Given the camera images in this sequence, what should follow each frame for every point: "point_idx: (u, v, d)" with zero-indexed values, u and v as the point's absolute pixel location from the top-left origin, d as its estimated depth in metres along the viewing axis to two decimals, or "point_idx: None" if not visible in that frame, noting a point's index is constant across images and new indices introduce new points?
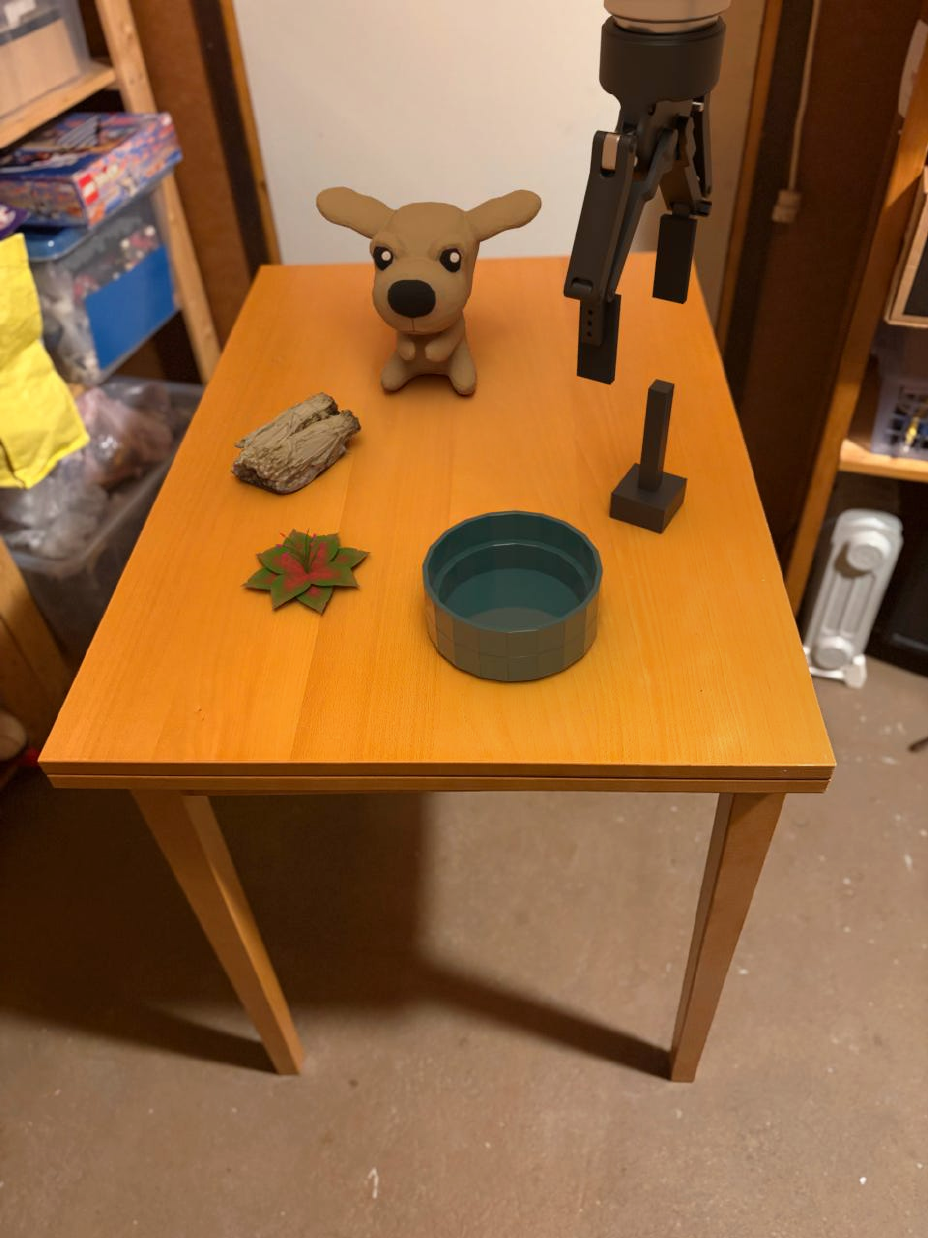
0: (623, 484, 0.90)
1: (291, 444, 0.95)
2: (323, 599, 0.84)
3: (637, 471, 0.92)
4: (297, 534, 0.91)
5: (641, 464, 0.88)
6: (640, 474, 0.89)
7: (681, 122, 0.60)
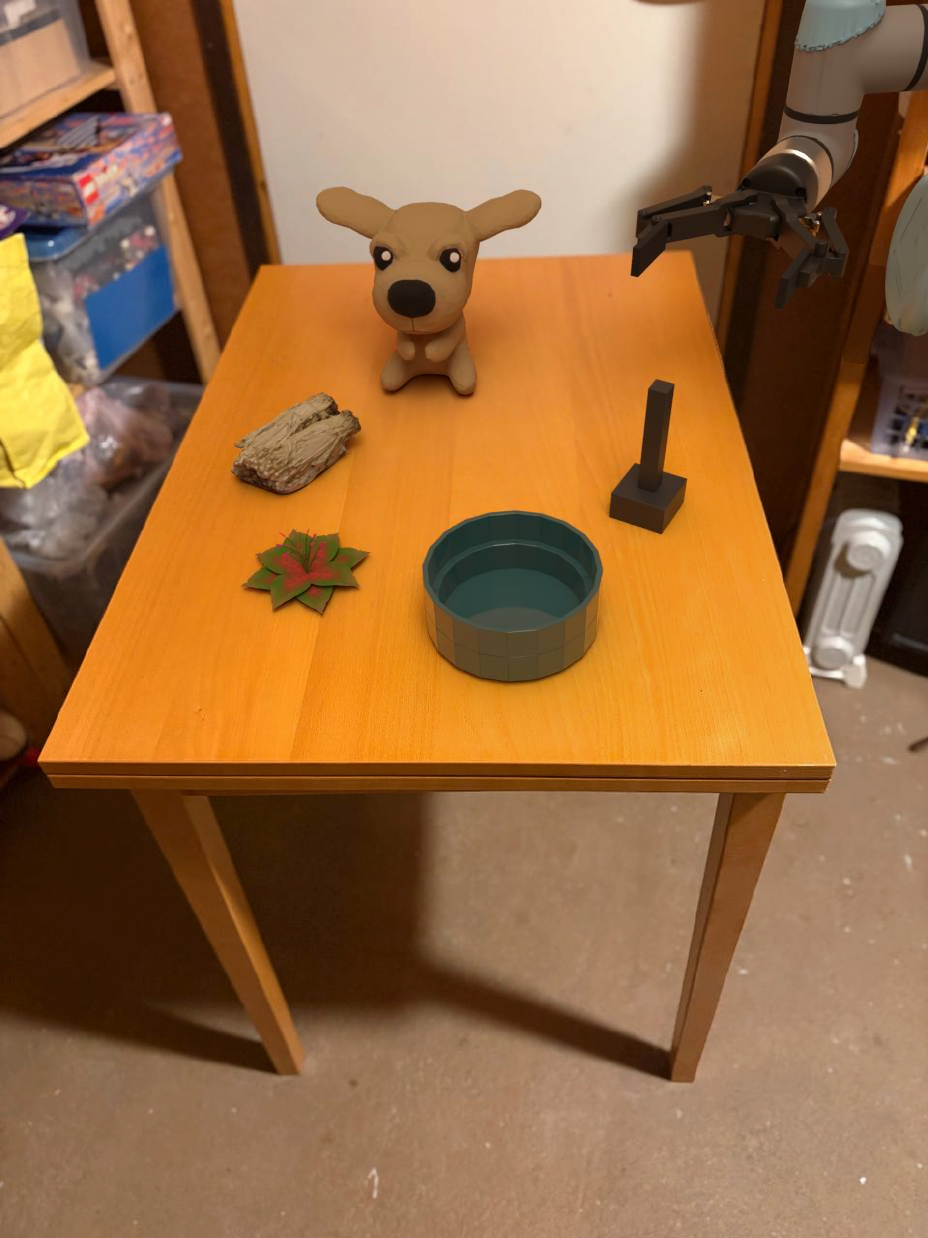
0: (623, 484, 0.90)
1: (291, 444, 0.95)
2: (323, 599, 0.84)
3: (637, 471, 0.92)
4: (297, 534, 0.91)
5: (641, 464, 0.88)
6: (640, 474, 0.89)
7: None
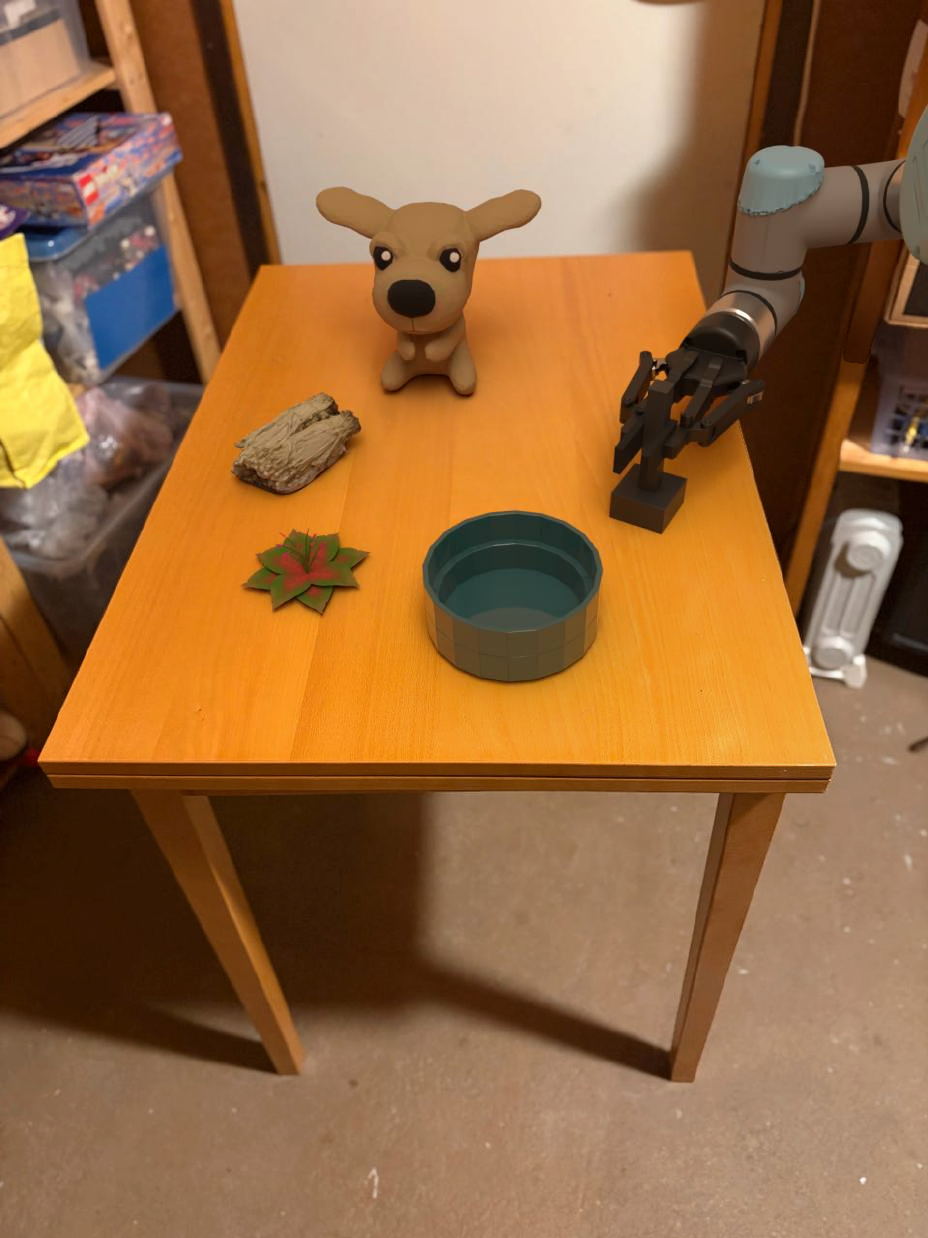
0: (623, 484, 0.90)
1: (291, 444, 0.95)
2: (323, 599, 0.84)
3: (637, 471, 0.92)
4: (297, 534, 0.91)
5: None
6: None
7: None
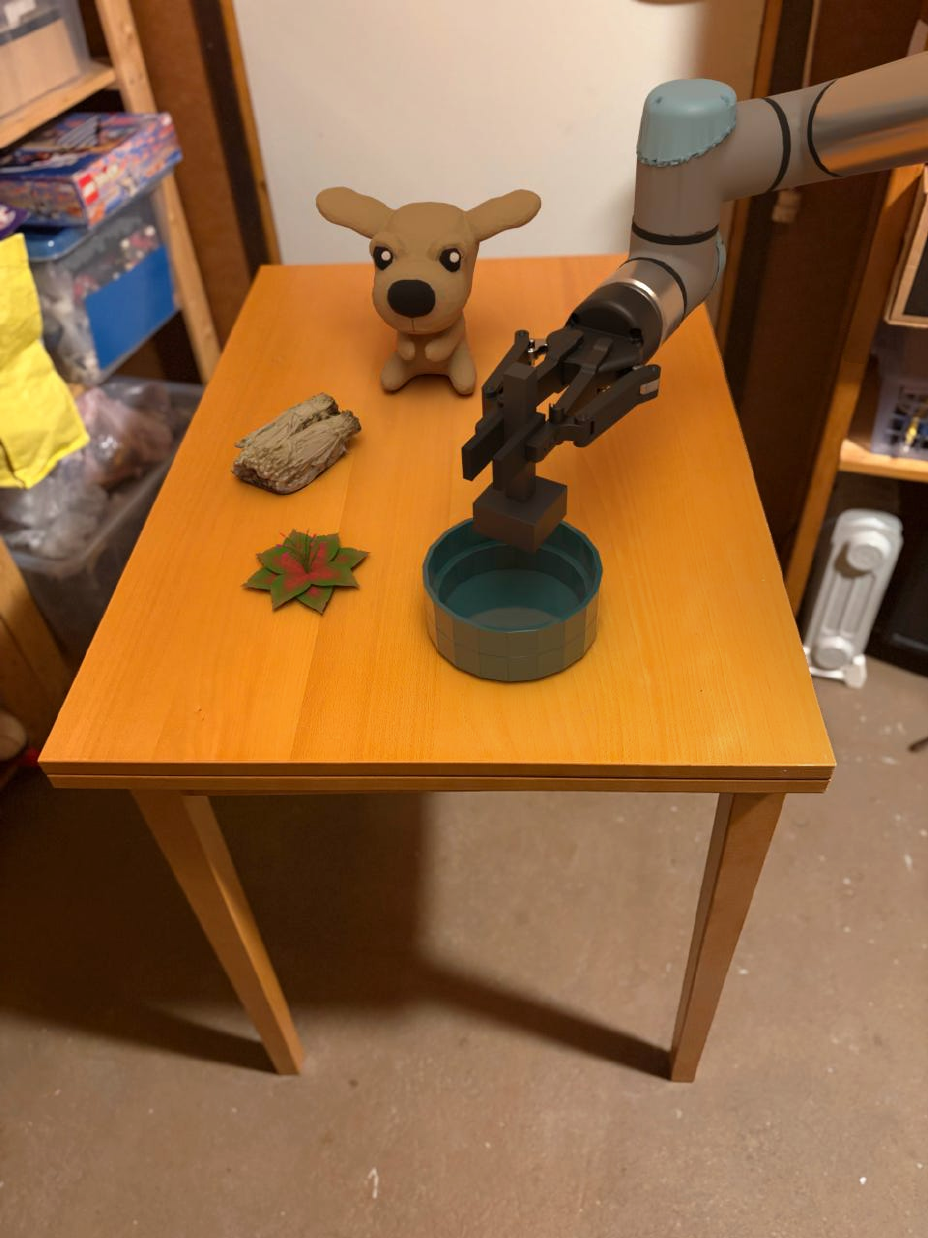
0: (488, 492, 0.74)
1: (291, 444, 0.95)
2: (323, 599, 0.84)
3: None
4: (297, 534, 0.91)
5: None
6: None
7: None
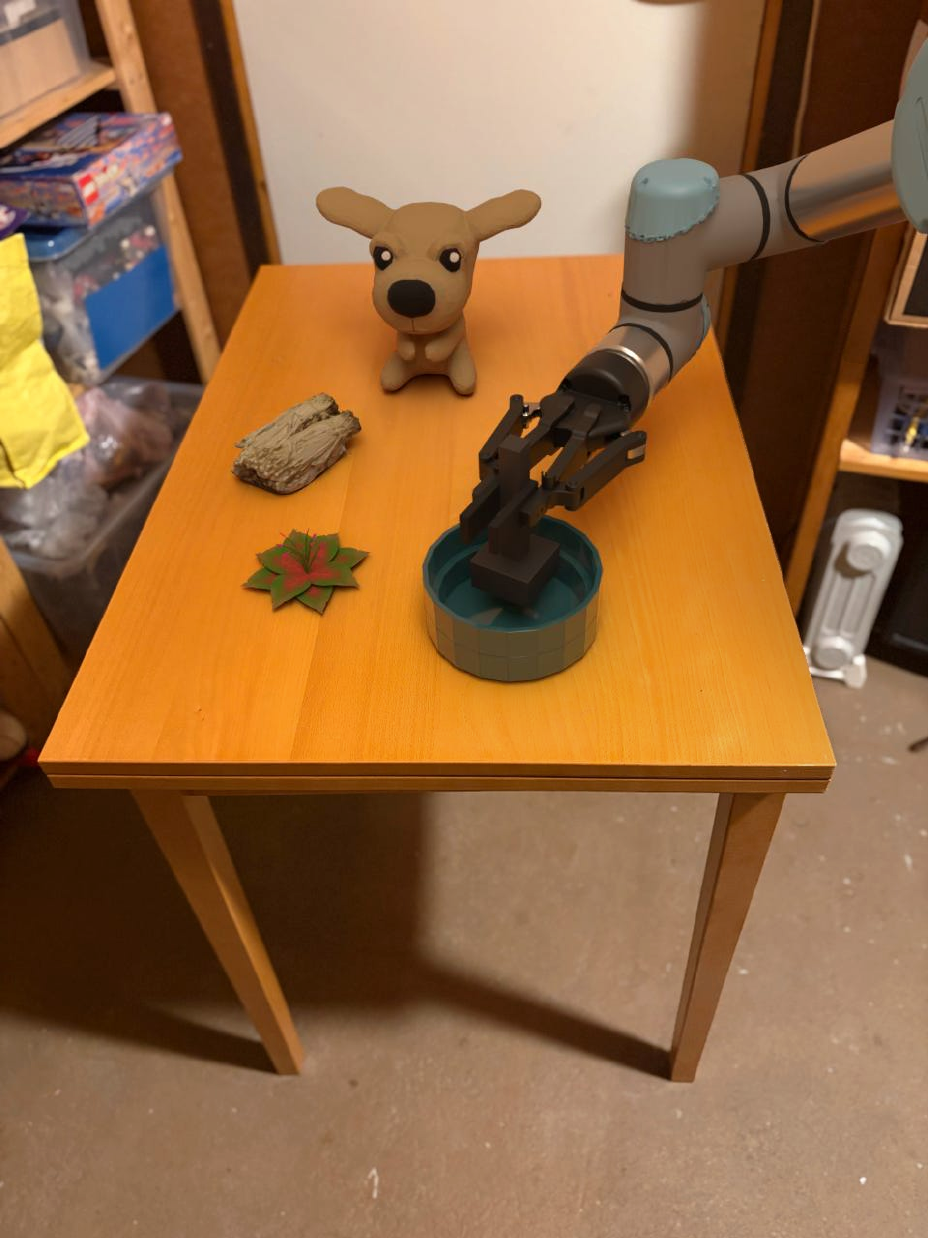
0: (485, 550, 0.78)
1: (291, 444, 0.95)
2: (323, 599, 0.84)
3: None
4: (297, 534, 0.91)
5: None
6: None
7: None
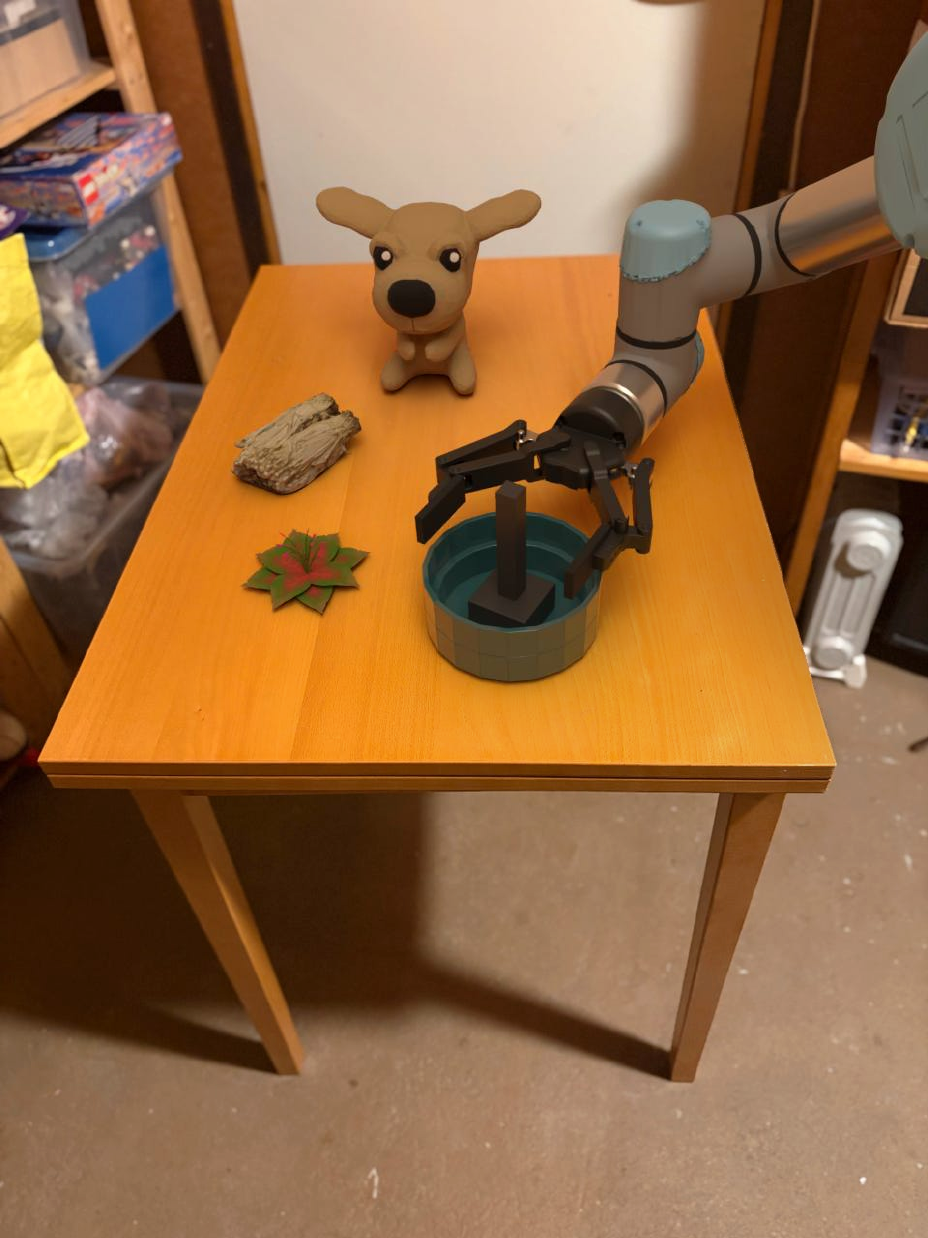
0: (482, 589, 0.80)
1: (291, 444, 0.95)
2: (323, 599, 0.84)
3: None
4: (297, 534, 0.91)
5: (498, 571, 0.78)
6: (499, 581, 0.78)
7: None
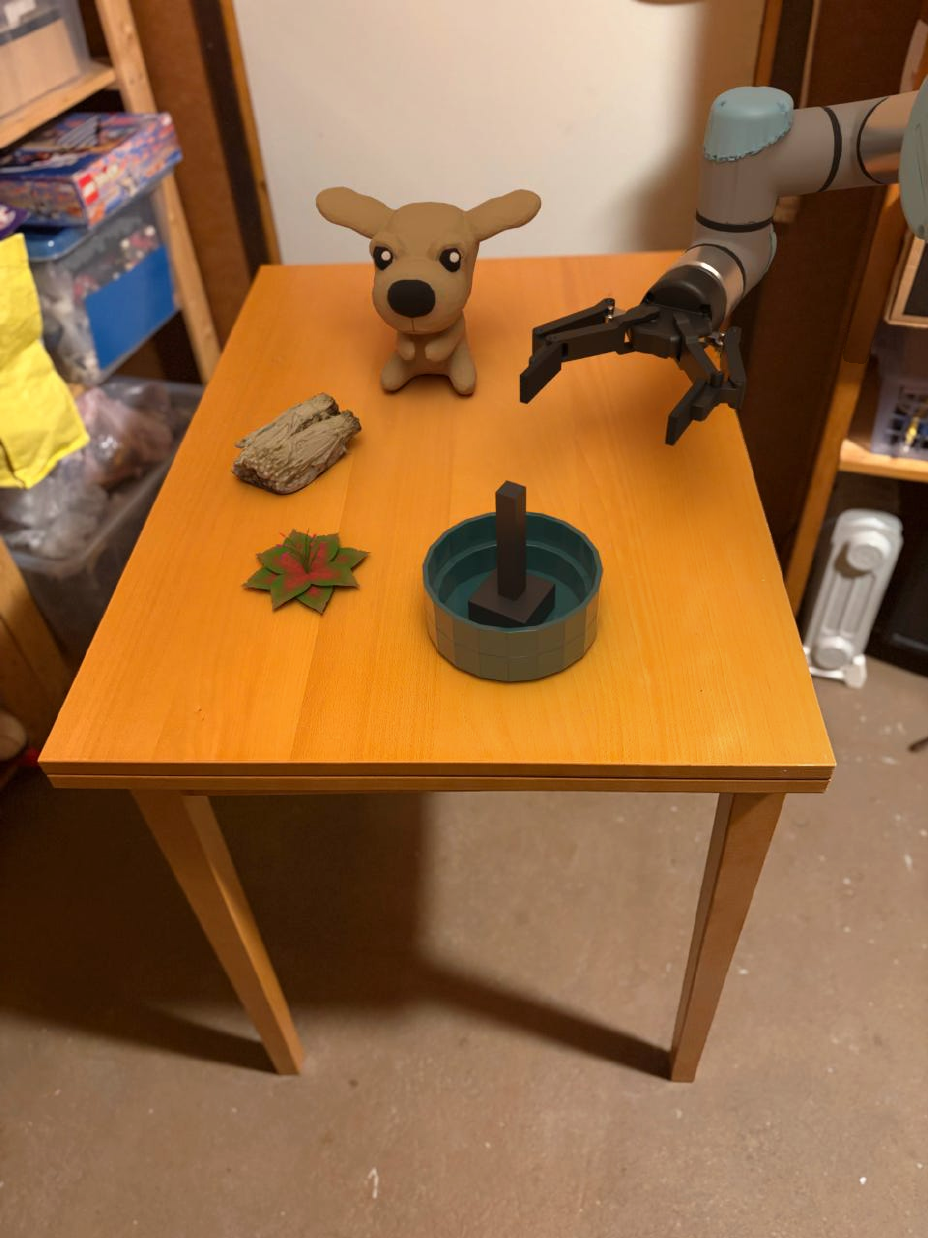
0: (482, 589, 0.80)
1: (292, 444, 0.95)
2: (323, 599, 0.84)
3: None
4: (297, 534, 0.91)
5: (498, 571, 0.78)
6: (499, 581, 0.78)
7: None
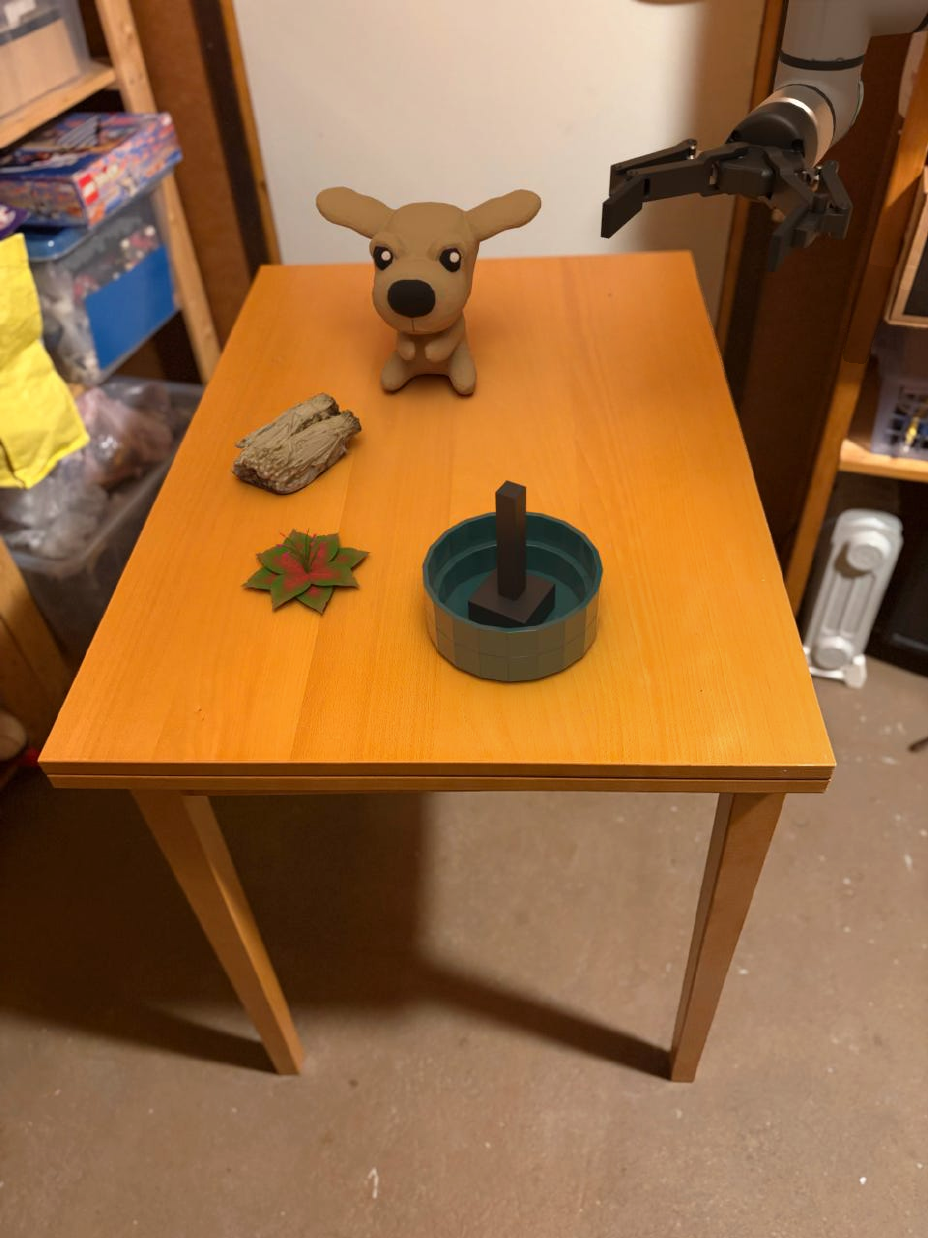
0: (482, 589, 0.80)
1: (292, 444, 0.95)
2: (323, 599, 0.84)
3: None
4: (297, 534, 0.91)
5: (498, 571, 0.78)
6: (499, 581, 0.78)
7: None
